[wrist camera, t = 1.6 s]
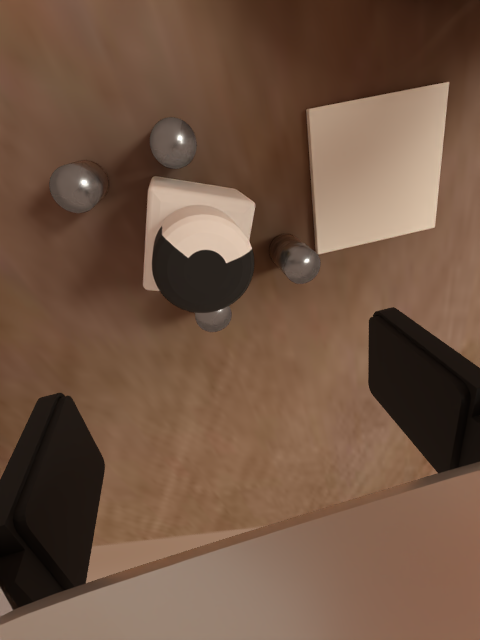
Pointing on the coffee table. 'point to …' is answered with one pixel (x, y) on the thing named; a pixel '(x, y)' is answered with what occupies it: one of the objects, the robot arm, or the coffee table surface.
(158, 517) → the coffee table surface
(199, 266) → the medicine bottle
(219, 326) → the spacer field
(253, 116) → the coffee table surface
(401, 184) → the pad
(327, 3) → the coffee table surface
